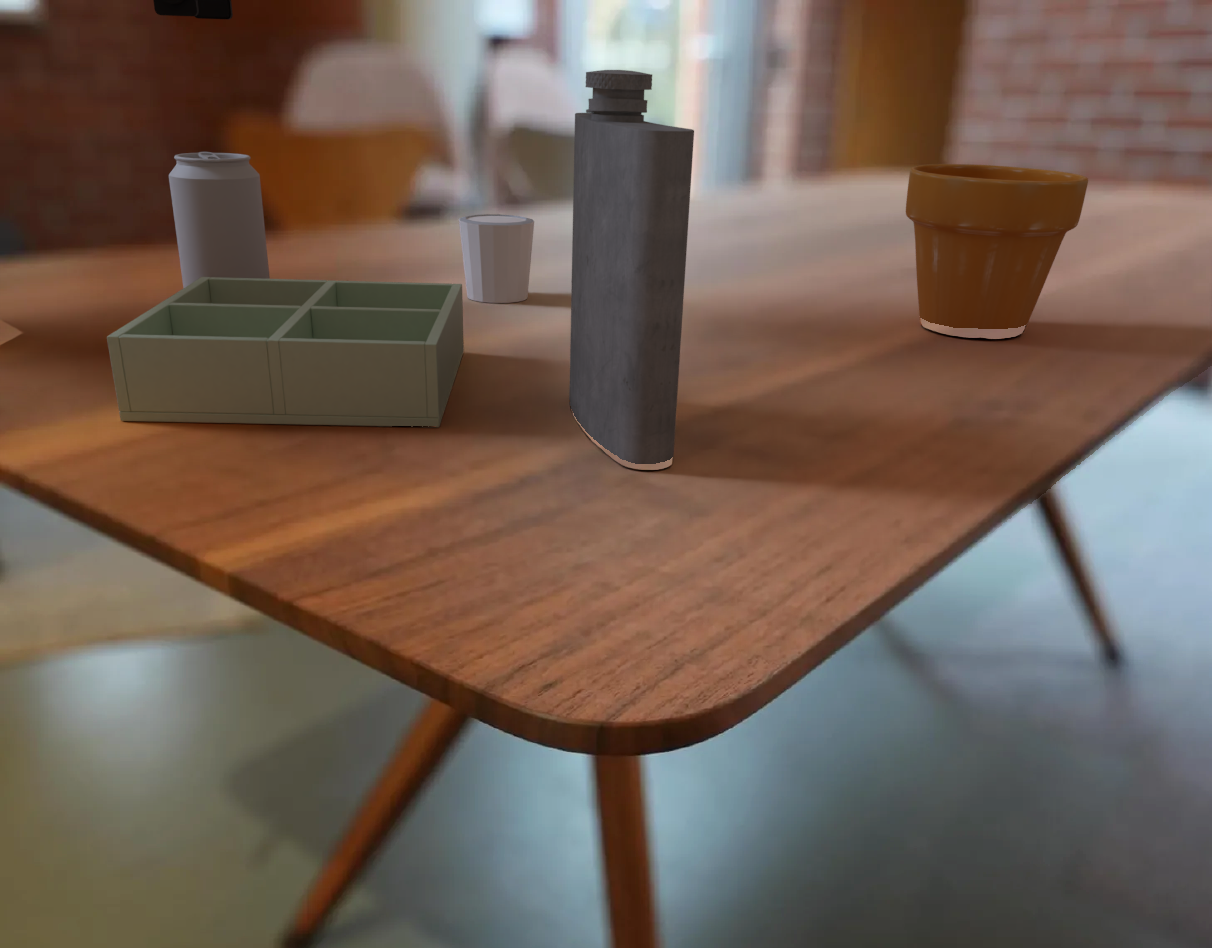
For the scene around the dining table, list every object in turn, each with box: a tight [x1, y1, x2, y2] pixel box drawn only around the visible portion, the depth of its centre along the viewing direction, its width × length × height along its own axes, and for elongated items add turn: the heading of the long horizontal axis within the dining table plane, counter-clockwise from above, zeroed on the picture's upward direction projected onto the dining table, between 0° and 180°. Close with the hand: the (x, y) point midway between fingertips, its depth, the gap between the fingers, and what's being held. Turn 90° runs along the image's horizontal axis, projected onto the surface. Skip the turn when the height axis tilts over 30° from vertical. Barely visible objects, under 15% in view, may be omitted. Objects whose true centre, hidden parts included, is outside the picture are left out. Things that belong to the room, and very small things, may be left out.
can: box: [168, 151, 271, 289], centre depth 98 cm, size 8×8×12 cm
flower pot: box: [905, 163, 1089, 329], centre depth 95 cm, size 14×14×13 cm
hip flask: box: [568, 69, 695, 464], centre depth 64 cm, size 16×4×20 cm, turn 14°
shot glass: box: [458, 213, 535, 304], centre depth 103 cm, size 7×7×7 cm
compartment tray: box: [106, 277, 465, 428], centre depth 75 cm, size 19×19×5 cm
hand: (196, 17), depth 90 cm, fingers open, 9 cm apart
